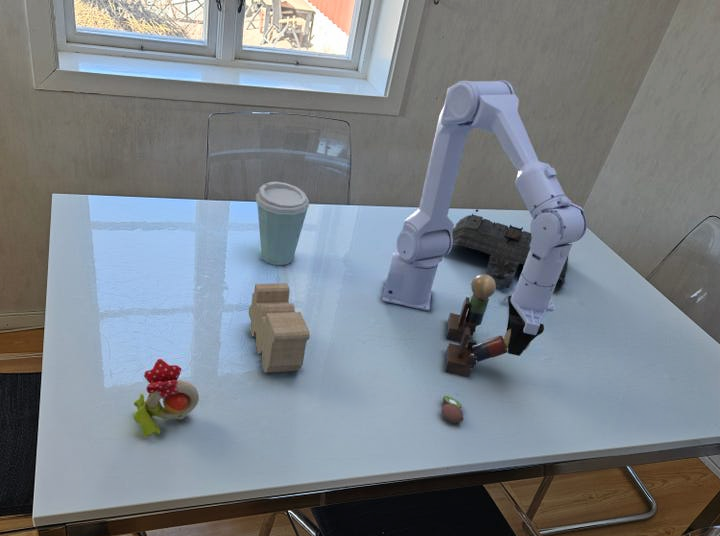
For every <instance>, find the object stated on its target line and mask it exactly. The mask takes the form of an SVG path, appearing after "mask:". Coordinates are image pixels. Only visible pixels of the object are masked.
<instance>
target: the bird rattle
mask: <svg viewBox="0 0 720 536" xmlns="http://www.w3.org/2000/svg"><path fill="white" fill-rule="evenodd" d="M181 373H182V367H181V366H179V365H176V364H171V365H170V364H168V363H167V362H166V361H165V360H163V359H162V358H158V359H157V360H156V361H155V363H154V366H153V367H152V368H151V369H148V370H145V372H144V375H143V376H144V379H145V380H146V382H148V384H147V386H146V393H148V395H147V398H146V400H145V395H144V394H143V393H140V395H139V398H138V399H136V400H134V402H133V406H134V407H136V411H135V412H134V413H133V420H134V422H135V423H136V424H139V425H141V434H142V435H143V436H144V437H150V436H151V435H152V434H153V433H155V434H157V435H161V428H160V426H159V425H158V424H157V422H156V421H155V420H154V419H153V417H157V418H160V419H164V420H174V419H175V420H180V421H181V420H184V419H185V418H186V416H187V415H188V414H190V413H191V412H193V410H194V409H195V408H196V407H197V405H198V403H199V400H200V397H199V392H198V389H197V387H196V386H195V385H194V384H192V383H190V382H189V381H186V380H183V379H181V380H180V379H179V378H180V376H181ZM161 399H162V403H163V405H162V403H161Z"/></svg>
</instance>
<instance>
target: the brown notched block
mask: <svg viewBox="0 0 720 536" xmlns="http://www.w3.org/2000/svg"><path fill="white" fill-rule="evenodd" d="M470 300H471V297H468V296H465V297H464V301H463V304H462V307H461V310H460V313H459V314H457V313H453V312H450V313H449V315H448V318H447V321H446V335H445V339H446V340H449V341H454V342H458V343H460V342H461V339H462V336H463V333H464V330H465V327H468V328H470V337H473V336H474V334H475V333H476V331H477V330H476V328H477V326H476V324H475V323H471V322H469V324H468V323H467V322H466V316H467V313H468V309H469V305H470Z"/></svg>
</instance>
